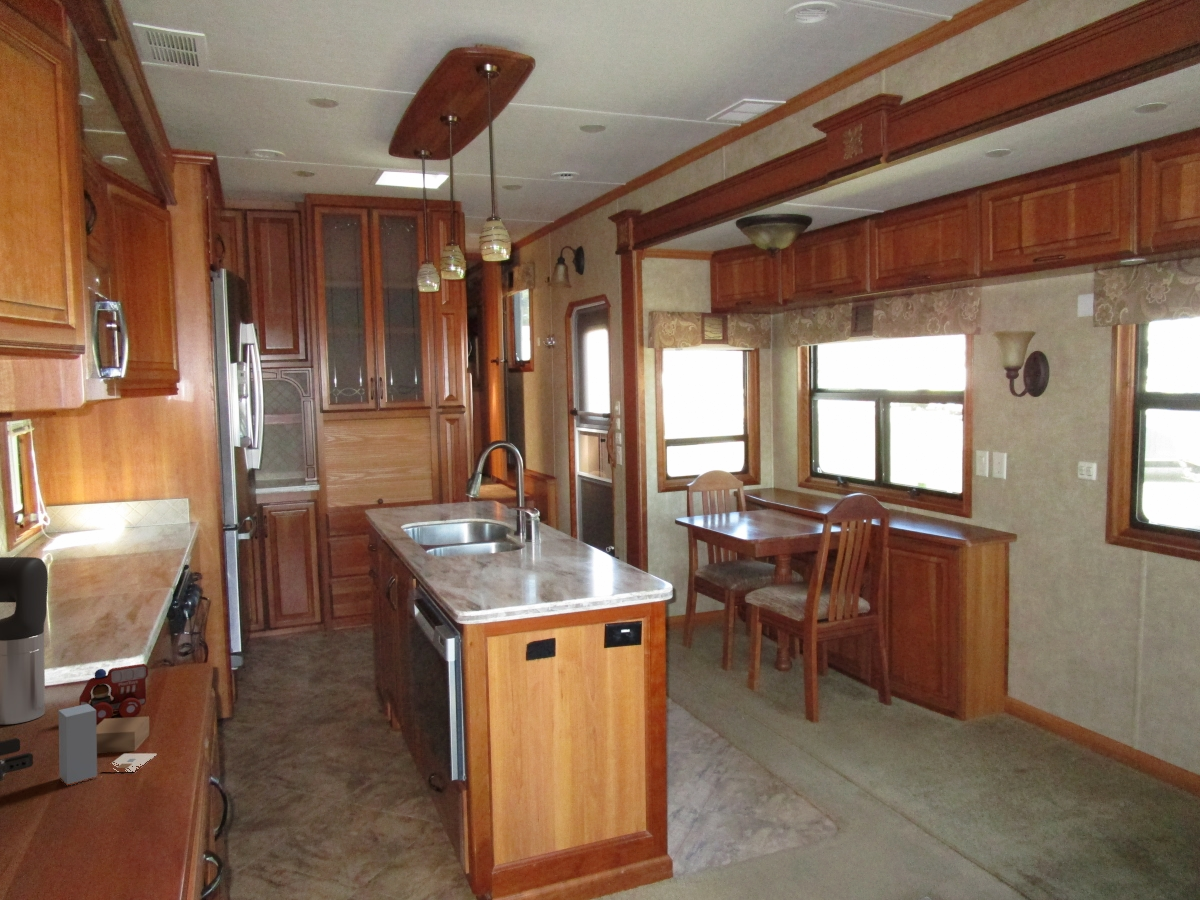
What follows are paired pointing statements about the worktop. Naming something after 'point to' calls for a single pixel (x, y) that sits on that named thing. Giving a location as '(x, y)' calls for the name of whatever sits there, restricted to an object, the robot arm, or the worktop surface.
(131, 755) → the page
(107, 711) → the toy fire truck
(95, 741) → the pillar
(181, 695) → the worktop surface
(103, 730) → the base block
